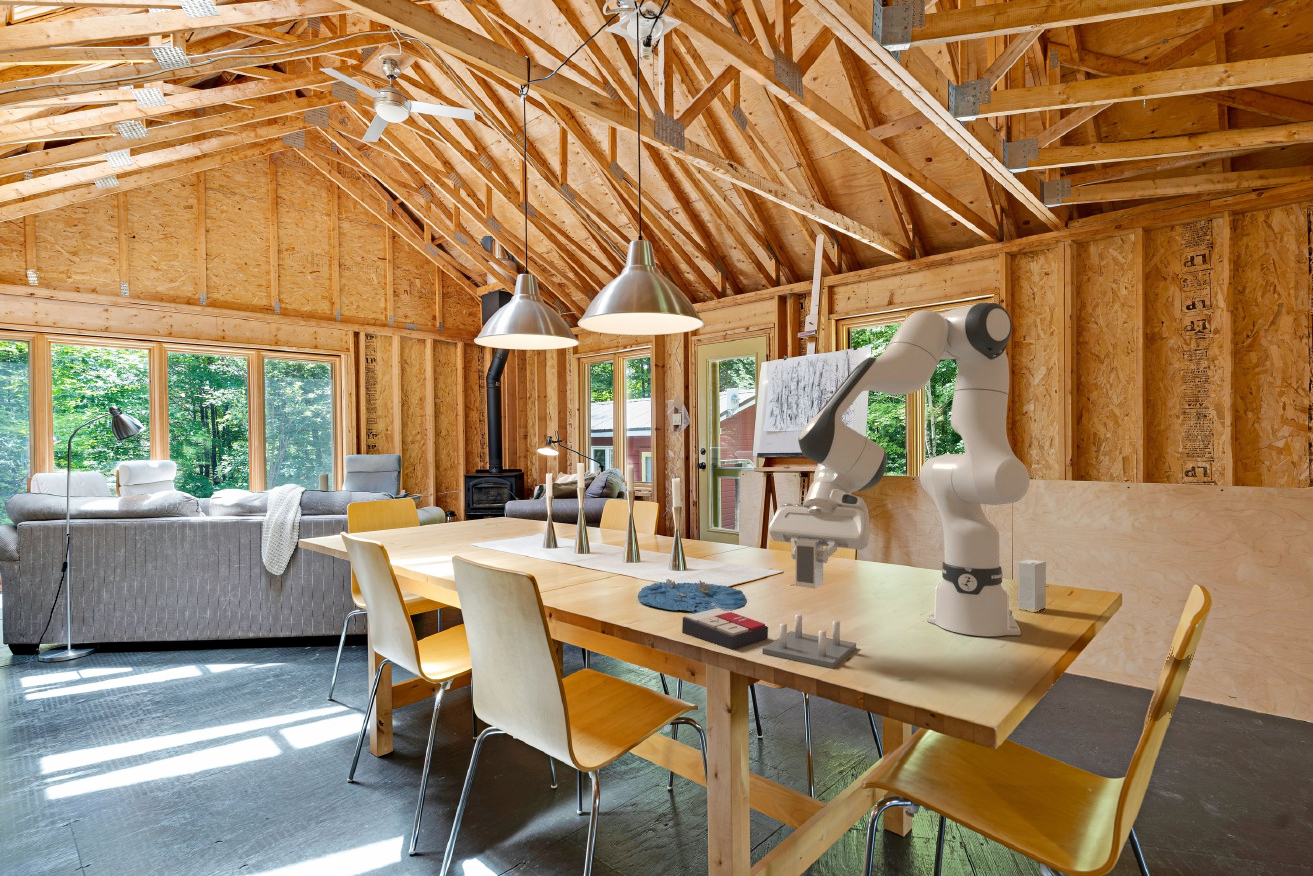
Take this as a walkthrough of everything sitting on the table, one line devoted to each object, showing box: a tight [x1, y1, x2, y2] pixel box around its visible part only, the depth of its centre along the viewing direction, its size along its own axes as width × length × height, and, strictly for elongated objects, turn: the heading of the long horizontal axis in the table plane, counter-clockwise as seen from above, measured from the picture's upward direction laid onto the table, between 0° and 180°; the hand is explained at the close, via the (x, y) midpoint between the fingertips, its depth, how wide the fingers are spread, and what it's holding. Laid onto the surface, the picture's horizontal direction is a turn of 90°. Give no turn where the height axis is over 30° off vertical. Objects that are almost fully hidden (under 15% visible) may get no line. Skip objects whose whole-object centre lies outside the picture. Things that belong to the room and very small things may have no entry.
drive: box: [795, 538, 824, 590], centre depth 122 cm, size 5×4×9 cm
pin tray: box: [761, 613, 857, 669], centre depth 122 cm, size 14×14×6 cm
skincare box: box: [1017, 559, 1047, 611], centre depth 153 cm, size 6×4×12 cm
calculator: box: [681, 607, 769, 651], centre depth 131 cm, size 11×4×15 cm
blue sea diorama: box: [637, 578, 748, 614], centre depth 164 cm, size 30×30×5 cm
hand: (808, 559), depth 122 cm, fingers closed on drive, 4 cm apart
